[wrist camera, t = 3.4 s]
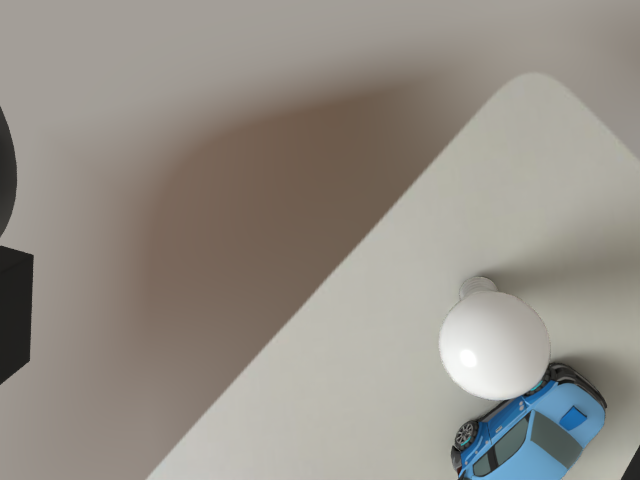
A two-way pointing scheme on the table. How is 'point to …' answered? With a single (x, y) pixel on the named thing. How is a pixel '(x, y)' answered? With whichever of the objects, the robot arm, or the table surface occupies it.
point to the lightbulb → (493, 342)
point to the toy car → (532, 431)
